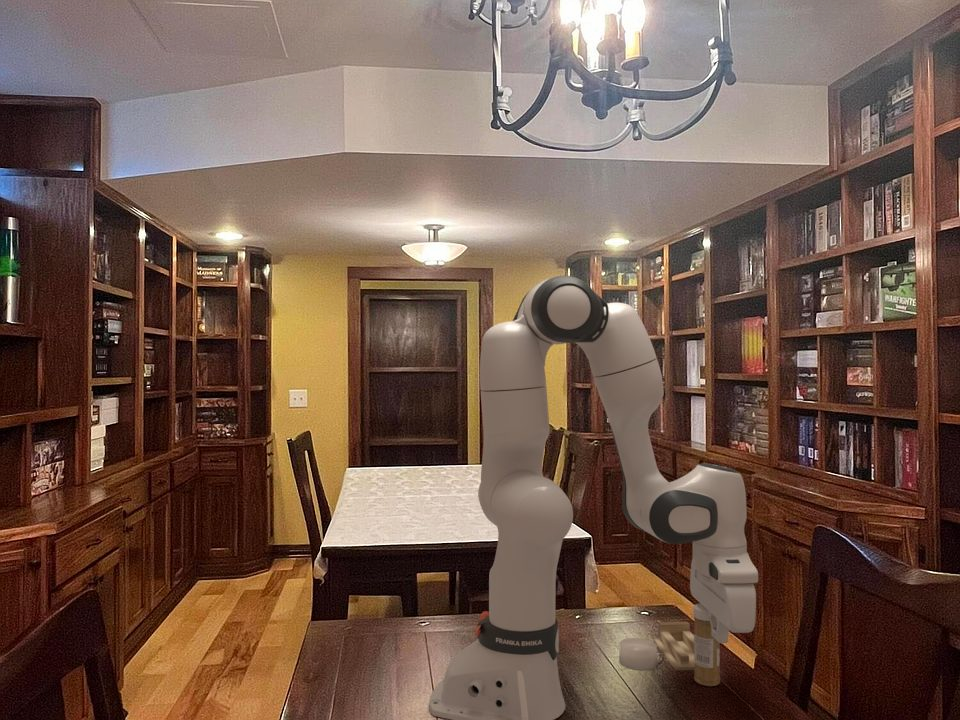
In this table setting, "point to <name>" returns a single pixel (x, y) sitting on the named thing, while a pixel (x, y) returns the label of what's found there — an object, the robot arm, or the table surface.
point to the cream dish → (638, 654)
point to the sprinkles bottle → (705, 649)
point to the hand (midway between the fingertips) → (719, 640)
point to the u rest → (677, 644)
